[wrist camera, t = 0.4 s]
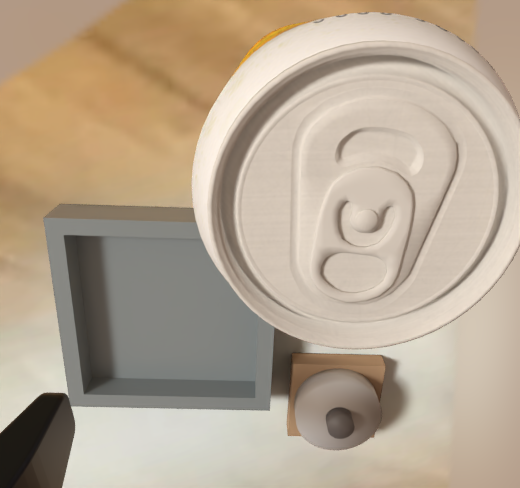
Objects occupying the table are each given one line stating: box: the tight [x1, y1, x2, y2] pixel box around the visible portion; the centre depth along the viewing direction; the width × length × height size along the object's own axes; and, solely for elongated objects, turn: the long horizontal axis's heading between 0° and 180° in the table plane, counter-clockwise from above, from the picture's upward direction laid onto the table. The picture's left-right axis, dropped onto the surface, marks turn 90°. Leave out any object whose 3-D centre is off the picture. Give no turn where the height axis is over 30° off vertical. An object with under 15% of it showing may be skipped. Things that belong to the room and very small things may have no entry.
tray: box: [43, 204, 274, 411], centre depth 25 cm, size 11×11×2 cm
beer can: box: [192, 12, 520, 349], centre depth 15 cm, size 6×6×15 cm
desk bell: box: [287, 353, 386, 450], centre depth 27 cm, size 5×5×3 cm
